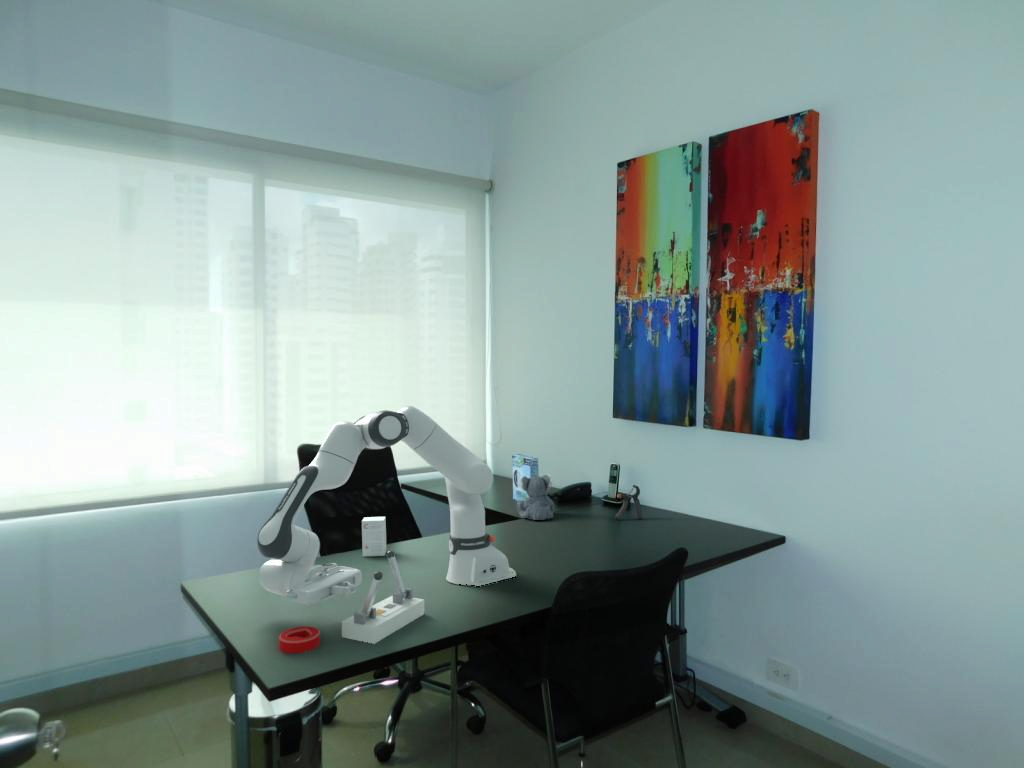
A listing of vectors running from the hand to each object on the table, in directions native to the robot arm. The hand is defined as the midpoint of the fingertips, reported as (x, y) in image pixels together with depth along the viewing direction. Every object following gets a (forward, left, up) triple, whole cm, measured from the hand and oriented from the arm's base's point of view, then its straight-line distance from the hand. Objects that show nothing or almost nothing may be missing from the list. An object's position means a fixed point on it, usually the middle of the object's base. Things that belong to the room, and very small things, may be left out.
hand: (352, 590), depth 171 cm
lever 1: (-2, +3, -6) cm, 7 cm away
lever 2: (-15, -7, -6) cm, 18 cm away
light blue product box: (-113, -127, -11) cm, 170 cm away
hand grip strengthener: (-136, -72, -11) cm, 154 cm away
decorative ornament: (+13, +1, -12) cm, 18 cm away
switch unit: (-9, -2, -11) cm, 14 cm away
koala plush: (-102, -94, -11) cm, 139 cm away
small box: (-23, -70, -11) cm, 75 cm away
